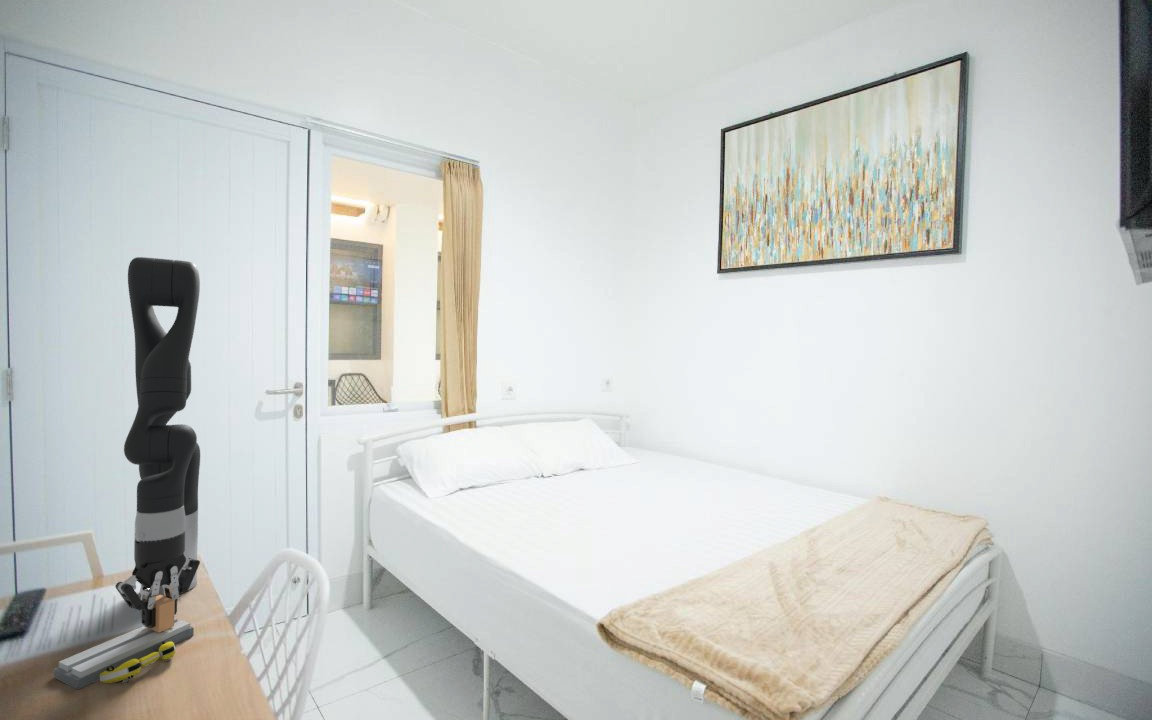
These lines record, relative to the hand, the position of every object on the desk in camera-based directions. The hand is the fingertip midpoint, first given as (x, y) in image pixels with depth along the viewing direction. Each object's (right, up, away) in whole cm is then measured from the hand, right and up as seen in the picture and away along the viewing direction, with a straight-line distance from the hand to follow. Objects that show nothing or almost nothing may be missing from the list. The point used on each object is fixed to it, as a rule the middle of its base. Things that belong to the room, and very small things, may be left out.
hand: (159, 622), depth 101 cm
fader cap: (0, -2, 0) cm, 2 cm away
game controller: (+4, -5, -8) cm, 10 cm away
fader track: (-2, -4, -5) cm, 6 cm away
